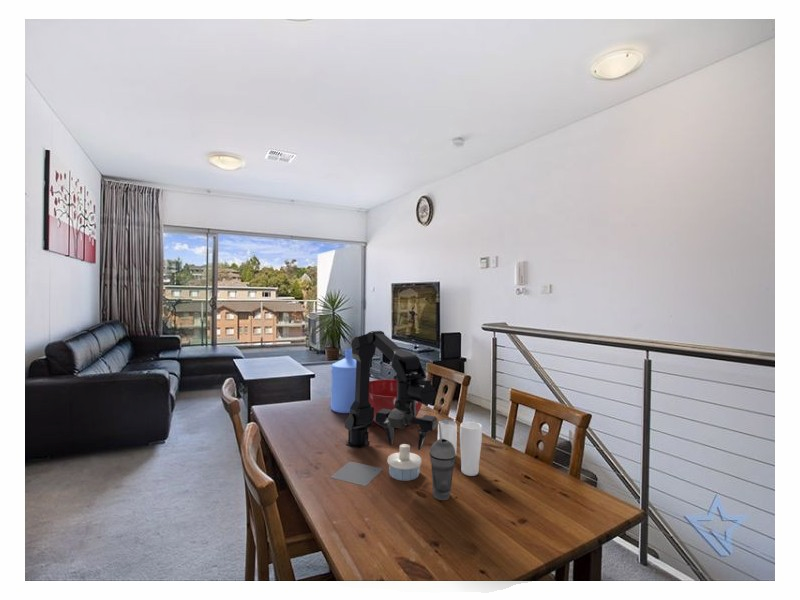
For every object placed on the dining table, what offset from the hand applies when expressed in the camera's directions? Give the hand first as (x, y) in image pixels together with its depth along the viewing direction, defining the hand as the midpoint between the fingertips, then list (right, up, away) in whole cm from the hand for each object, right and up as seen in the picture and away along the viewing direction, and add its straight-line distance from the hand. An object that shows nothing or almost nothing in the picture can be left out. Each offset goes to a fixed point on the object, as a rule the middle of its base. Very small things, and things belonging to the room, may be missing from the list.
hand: (405, 447), depth 119 cm
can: (+14, -9, +15) cm, 22 cm away
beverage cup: (+10, -9, -12) cm, 18 cm away
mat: (-15, -8, 0) cm, 17 cm away
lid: (0, -5, 0) cm, 5 cm away
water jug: (-26, -7, +65) cm, 70 cm away
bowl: (0, -9, 0) cm, 9 cm away
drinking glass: (+20, -9, +3) cm, 22 cm away
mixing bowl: (-5, -8, +47) cm, 47 cm away
